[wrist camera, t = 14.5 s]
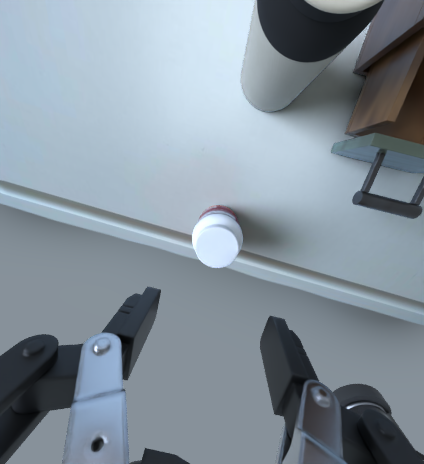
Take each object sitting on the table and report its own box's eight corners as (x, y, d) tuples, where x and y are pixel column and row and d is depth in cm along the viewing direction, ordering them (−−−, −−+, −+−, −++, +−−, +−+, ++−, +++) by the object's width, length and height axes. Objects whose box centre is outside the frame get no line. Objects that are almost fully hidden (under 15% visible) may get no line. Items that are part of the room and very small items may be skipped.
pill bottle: (230, 247, 33) (233, 282, 23) (193, 235, 33) (180, 264, 23) (244, 212, 32) (255, 232, 21) (206, 198, 31) (198, 211, 21)
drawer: (390, 213, 30) (447, 227, 22) (314, 194, 30) (345, 202, 22) (468, 57, 24) (576, 6, 17) (375, 32, 24) (444, -30, 17)
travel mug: (281, 123, 28) (375, 46, 11) (229, 94, 27) (242, -39, 10) (315, 60, 26) (502, -161, 9) (260, 27, 25) (343, -287, 8)
